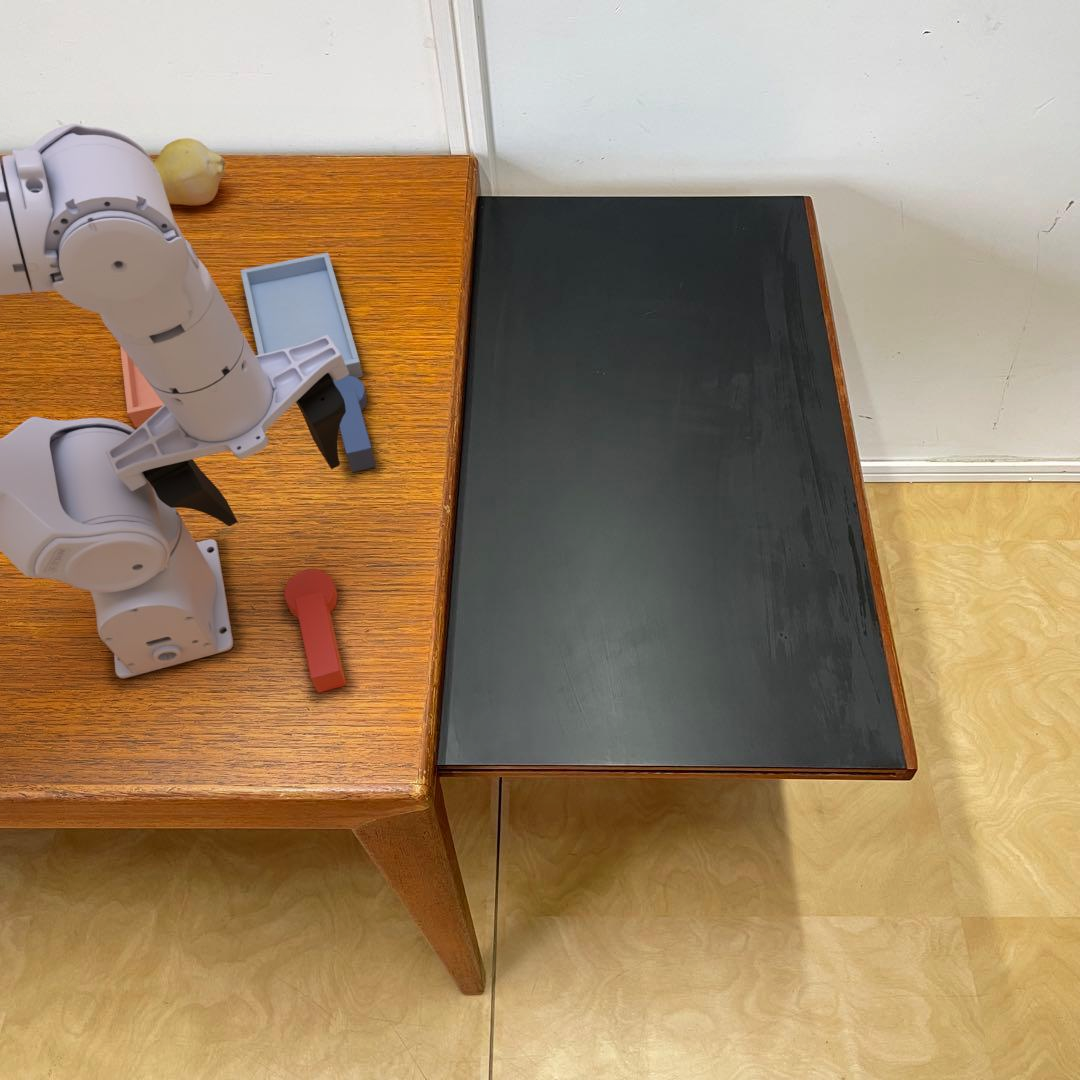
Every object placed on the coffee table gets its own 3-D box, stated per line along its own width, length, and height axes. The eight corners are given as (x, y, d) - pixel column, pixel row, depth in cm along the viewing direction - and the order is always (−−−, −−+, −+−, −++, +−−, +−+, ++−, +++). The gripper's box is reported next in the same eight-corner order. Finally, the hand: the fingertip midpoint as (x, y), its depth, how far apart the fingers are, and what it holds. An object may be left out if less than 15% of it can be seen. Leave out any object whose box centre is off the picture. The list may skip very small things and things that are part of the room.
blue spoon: (385, 464, 74) (381, 445, 72) (341, 475, 73) (336, 456, 71) (362, 381, 78) (357, 360, 76) (320, 391, 78) (314, 370, 76)
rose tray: (233, 406, 77) (227, 391, 75) (135, 428, 75) (127, 413, 74) (212, 292, 84) (206, 276, 82) (122, 310, 82) (114, 294, 81)
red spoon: (357, 682, 64) (352, 667, 62) (306, 696, 63) (298, 682, 61) (332, 572, 69) (326, 555, 66) (284, 585, 68) (276, 567, 66)
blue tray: (363, 377, 79) (359, 361, 77) (269, 398, 77) (264, 382, 76) (331, 268, 86) (328, 252, 84) (245, 285, 84) (240, 269, 83)
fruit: (133, 183, 92) (229, 154, 92) (145, 234, 90) (243, 205, 91) (103, 146, 86) (206, 115, 86) (116, 200, 85) (220, 168, 85)
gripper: (90, 467, 47) (202, 584, 59) (341, 335, 49) (400, 472, 61) (51, 379, 50) (164, 507, 62) (288, 259, 53) (354, 404, 64)
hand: (279, 485), depth 62 cm, fingers open, 7 cm apart
